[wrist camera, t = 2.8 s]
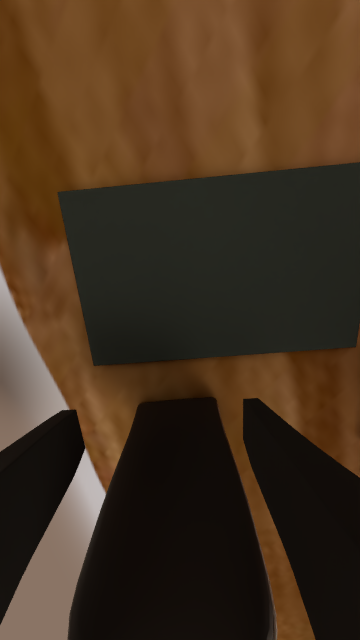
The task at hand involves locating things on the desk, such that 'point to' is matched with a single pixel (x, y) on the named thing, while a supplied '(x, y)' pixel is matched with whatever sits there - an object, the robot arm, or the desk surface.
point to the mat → (218, 264)
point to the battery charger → (174, 538)
